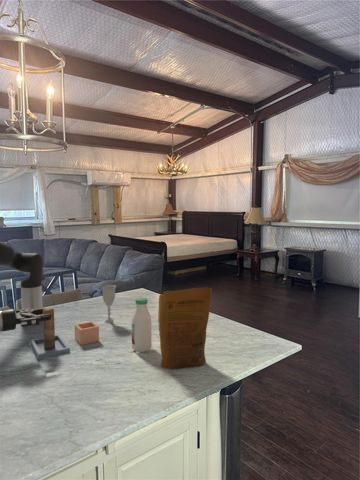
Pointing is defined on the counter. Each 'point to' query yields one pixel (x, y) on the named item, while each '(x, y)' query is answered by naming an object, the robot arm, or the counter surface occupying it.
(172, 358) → the pancake mix bag
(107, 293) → the chalice
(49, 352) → the slate tray
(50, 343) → the walnut dowel
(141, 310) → the milk bottle
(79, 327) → the terracotta cup
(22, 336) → the counter surface
